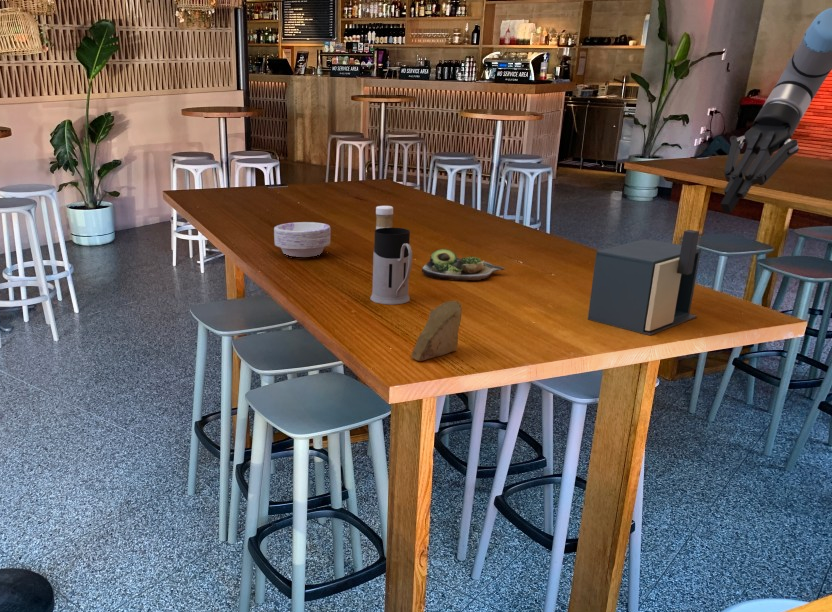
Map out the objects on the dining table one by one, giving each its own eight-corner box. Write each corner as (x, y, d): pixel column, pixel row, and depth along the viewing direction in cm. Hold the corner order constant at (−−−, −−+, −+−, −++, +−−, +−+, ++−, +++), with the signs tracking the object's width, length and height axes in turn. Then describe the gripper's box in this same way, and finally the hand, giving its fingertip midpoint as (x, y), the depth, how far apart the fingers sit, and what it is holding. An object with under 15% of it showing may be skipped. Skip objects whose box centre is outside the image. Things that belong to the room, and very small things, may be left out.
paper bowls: (282, 248, 223) (281, 219, 220) (335, 250, 220) (335, 221, 217) (268, 260, 209) (267, 230, 206) (324, 262, 206) (324, 232, 203)
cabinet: (696, 317, 161) (709, 249, 155) (650, 335, 150) (662, 263, 145) (635, 303, 170) (645, 238, 165) (587, 319, 160) (596, 250, 155)
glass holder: (400, 292, 179) (402, 225, 174) (427, 309, 167) (431, 238, 161) (364, 295, 177) (365, 228, 171) (389, 313, 164) (391, 241, 159)
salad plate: (508, 268, 200) (510, 250, 198) (497, 285, 185) (499, 265, 183) (433, 262, 206) (434, 244, 205) (416, 278, 191) (417, 259, 189)
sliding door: (683, 324, 154) (699, 231, 147) (659, 333, 149) (675, 237, 142) (668, 321, 156) (684, 228, 149) (644, 330, 151) (659, 234, 144)
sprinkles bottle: (394, 256, 213) (396, 206, 208) (387, 259, 209) (388, 208, 204) (379, 254, 215) (380, 204, 210) (371, 258, 211) (372, 207, 206)
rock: (419, 356, 133) (474, 343, 135) (405, 309, 135) (459, 297, 137) (405, 373, 144) (456, 361, 145) (392, 329, 145) (443, 318, 147)
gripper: (818, 129, 155) (763, 225, 151) (750, 126, 164) (697, 216, 160) (814, 101, 150) (756, 200, 146) (743, 99, 159) (688, 192, 155)
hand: (725, 208), depth 153 cm, fingers closed
